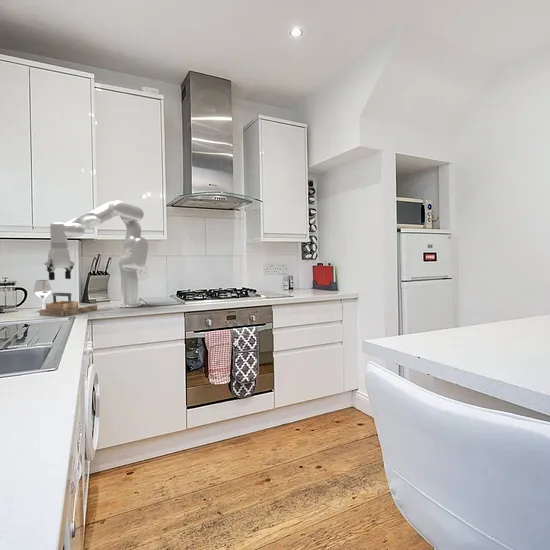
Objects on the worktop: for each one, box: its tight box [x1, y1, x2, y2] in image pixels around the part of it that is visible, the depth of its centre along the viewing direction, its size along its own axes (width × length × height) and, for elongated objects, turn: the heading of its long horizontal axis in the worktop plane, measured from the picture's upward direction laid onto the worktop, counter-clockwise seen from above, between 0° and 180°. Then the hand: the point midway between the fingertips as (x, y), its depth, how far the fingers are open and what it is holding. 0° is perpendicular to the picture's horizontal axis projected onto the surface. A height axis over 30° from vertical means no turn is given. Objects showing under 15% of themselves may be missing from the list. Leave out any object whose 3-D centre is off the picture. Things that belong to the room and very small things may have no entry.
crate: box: [45, 292, 79, 311], centre depth 195 cm, size 10×11×11 cm
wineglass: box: [33, 279, 52, 309], centre depth 207 cm, size 8×8×18 cm
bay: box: [39, 304, 98, 318], centre depth 200 cm, size 22×16×4 cm
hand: (60, 279), depth 194 cm, fingers open, 9 cm apart
